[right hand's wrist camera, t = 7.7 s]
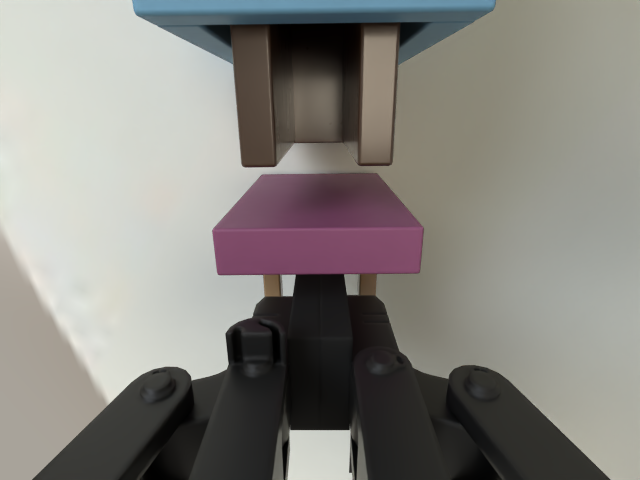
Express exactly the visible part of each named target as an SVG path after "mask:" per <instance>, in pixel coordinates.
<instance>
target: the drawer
mask: <svg viewBox="0 0 640 480" xmlns="http://www.w3.org/2000/svg"><path fill="white" fill-rule="evenodd" d="M400 24H401V22H378V23H305V24H232V25H230V32H231V44H232V56H233V68H234V80H235V92H236V104H237V116H238V128H239V140H240V152H241V164H242V166H243V167H275V166H277V164H278V163H279V162H280V160H281V159H282V158H283V157H284V155H285V154H286V153H287V152H288V150H289V149H290V148H291V147H292V145H293V144H294V143H344V144H345V146H346V147H347V149H348V150H349V152H350V153H351V155H352V156H353V158H354V159H355V161H356V162H357V164H358V165H359V166H389V165H392V163H393V149H394V131H395V113H396V96H397V78H398V60H399V42H400ZM212 232H213V241H214V249H215V258H216V266H217V273H218V275H263V279H264V293H265V296H283V288H282V275H294V274H358V295H375V296H376V279H377V274H409V273H419V272H420V266H421V254H422V243H423V232H424V228H423V226H422V225H421V224H420V223H419V222H418V221H417V219H416V218H415V217H414V216H413V215H412V214H411V212H410V211H409V210H408V209H407V208H406V207H405V205H404V204H403V203H402V202H401V201H400V200H399V198H398V197H397V196H396V195H395V194H394V193H393V191H392V190H391V189H390V188H389V187H388V186H387V184H386V183H385V182H384V181H383V180H382V179H381V178H380V176H379V175H378V174H376V173H364V174H271V175H261V176H260V177H259V179H258V180H257V181H256V182H255V183H254V184H253V185H252V186H251V187H250V189H249V190H248V191H247V192H246V193H245V194H244V195H243V196H242V197H241V199H240V200H239V201H238V202H237V203H236V204H235V205H234V206H233V207H232V209H231V210H230V211H229V212H228V213H227V214H226V215H225V216H224V217H223V219H222V220H221V221H220V222H219V223H218V224H217V225H216V226H215V227H214V229H213V231H212Z"/></svg>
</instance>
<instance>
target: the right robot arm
mask: <svg viewBox="0 0 640 480" xmlns="http://www.w3.org/2000/svg"><path fill="white" fill-rule="evenodd" d="M226 343H227V352H228V362H229V365H228V368H227V370H225V371H223V372H221V373H219V374H216V375H213V376H210V377H205V378H201V379H197V380H192V381H191V376H190V375H189V374H188V372H187V371H186V370H184V369H181V368H178V367H163V368H158V369H153V370H151V371H149V372H147V373H145V374H142V375H141V376H139V377H138V378H137V379H135V380H134V381H133V382H131V383H130V384H129V385H128V386H127V387H126V388H125V389H124V390H123V391H122V392H121V393H120V394H119V395H118V396H117V397H116V398H115V399H114V400H113V401H112V402H111V403H110V404H109V405H108V406H107V407H106V408H105V409H104V410H103V411H102V412H101V413H100V414H99V415H98V416H97V417H96V418H95V419H94V420H93V421H92V422H91V423H90V424H89V425H88V426H87V427H86V428H84V430H82V431H81V432H80V433H79V434H78V435H77V436H76V437H75V438H74V439H73V440H72V441H71V442H70V443H69V444H68V445H67V446H66V447H65V448H64V449H63V450H62V451H61V452H60V453H59V454H58V455H57V456H56V457H55V458H54V459H53V460H52V461H51V462H50V463H49V464H48V465H47V466H46V467H45V468H44V469H43V470H42V471H41V472H40V473H39V474H38V475H36V476H35V477H34V478H33V479H32V480H287V477H288V466H289V454H290V441H289V431H290V430H350V429H351V441H350V466H349V473H352V477H353V480H610V479H609V478H608V477H607V476H606V475H605V474H604V473H603V472H602V471H601V470H600V469H599V468H598V467H597V466H596V465H595V464H594V463H593V462H592V461H591V460H590V459H589V458H588V457H587V456H586V455H585V454H584V453H583V452H582V451H581V450H580V449H578V448H577V447H576V446H575V445H574V444H573V443H572V442H571V441H570V440H569V439H568V438H567V437H566V436H565V435H564V434H563V433H562V432H561V431H560V430H559V429H558V428H557V427H556V426H555V425H554V424H553V423H552V422H551V421H550V420H549V419H548V418H547V417H546V416H545V415H544V414H542V413H541V412H540V411H539V410H538V409H537V408H536V407H535V406H534V405H533V404H532V403H531V402H530V401H529V400H528V399H527V398H526V397H525V396H524V395H523V394H522V393H521V392H520V391H519V390H518V389H517V388H516V387H515V386H514V385H513V384H512V383H511V382H510V381H508V380H507V379H506V378H504V377H503V376H502V375H500V374H499V373H497V372H495V371H493V370H490V369H488V368H485V367H480V366H476V365H463V366H460V367H458V368H455V369H454V370H453V371H452V372H451V373H450V375H449V379H446V378H441V377H437V376H432V375H429V374H426V373H422V372H420V371H418V370H416V369H414V368H413V367H412V365H411V363H410V361H409V360H408V358H407V357H406V356H405V355H404V354H402V353H401V352H399V349H398V346H397V343H396V340H395V337H394V334H393V331H392V328H391V324H390V323H389V318H388V315H387V312H386V309H385V306H384V303H383V302H382V301H380V300H379V299H378V298H377V297H376V296H375V295H347V293H346V286H345V279H344V274H296V278H295V286H294V293H293V296H265V297H264V298H263V299H262V300H261V301H260V302H259V303H258V304H256V307H255V310H254V313H253V317H252V318H249V319H246V320H243V321H240V322H238V323H236V324H235V325H233V326H231V327H230V328H229V330H228V331H227V332H226Z"/></svg>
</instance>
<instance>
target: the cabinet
mask: <svg viewBox="0 0 640 480" xmlns="http://www.w3.org/2000/svg"><path fill="white" fill-rule="evenodd" d="M132 1H133V7H134V12H135V14H136V15H137V16H139V17H141V18H143V19H145V20H147V21H149V22H151V23H153V24H155V25H157V26H158V27H160V28H162V29H164V30H166V31H168V32H170V33H172V34H174V35H176V36H178V37H180V38H182V39H184V40H186V41H188V42H190V43H192V44H194V45H196V46H198V47H200V48H202V49H204V50H206V51H208V52H210V53H212V54H214V55H216V56H218V57H220V58H222V59H224V60H226V61H228V62H230V63H232V64H233V56H232V44H231V32H230V25H232V24H305V23H378V22H401V24H400V42H399V60H398V65H399V64H401V63H402V62H404V61H406V60H408V59H410V58H411V57H413V56H415V55H417V54H418V53H420V52H422V51H424V50H425V49H427V48H429V47H431V46H432V45H434V44H436V43H438V42H439V41H441V40H443V39H445V38H446V37H448V36H450V35H452V34H453V33H455V32H457V31H459V30H460V29H462V28H464V27H466V26H467V25H469V24H471V23H473V22H474V21H475V20H477V19H479V18H480V17H482V16H484V15H486V14H487V13H489V12H491V11H493V9H494V7H495V3H496V0H132Z"/></svg>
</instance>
